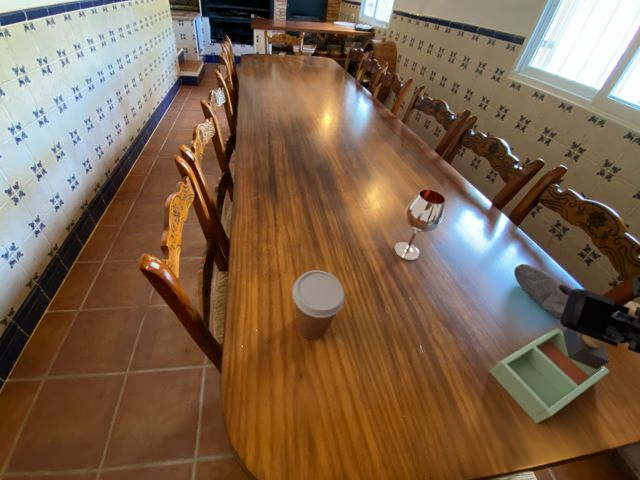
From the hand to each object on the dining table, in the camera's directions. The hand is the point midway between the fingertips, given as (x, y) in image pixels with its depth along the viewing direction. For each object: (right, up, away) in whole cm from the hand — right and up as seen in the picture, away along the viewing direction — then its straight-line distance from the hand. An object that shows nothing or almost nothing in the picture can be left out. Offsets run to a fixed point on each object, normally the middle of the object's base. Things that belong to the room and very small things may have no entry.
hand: (604, 324), depth 49 cm
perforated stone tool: (+6, -1, +20) cm, 21 cm away
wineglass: (-21, +9, +29) cm, 37 cm away
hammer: (-1, -6, +3) cm, 7 cm away
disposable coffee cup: (-48, -4, +11) cm, 49 cm away
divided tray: (-5, -12, +6) cm, 14 cm away
